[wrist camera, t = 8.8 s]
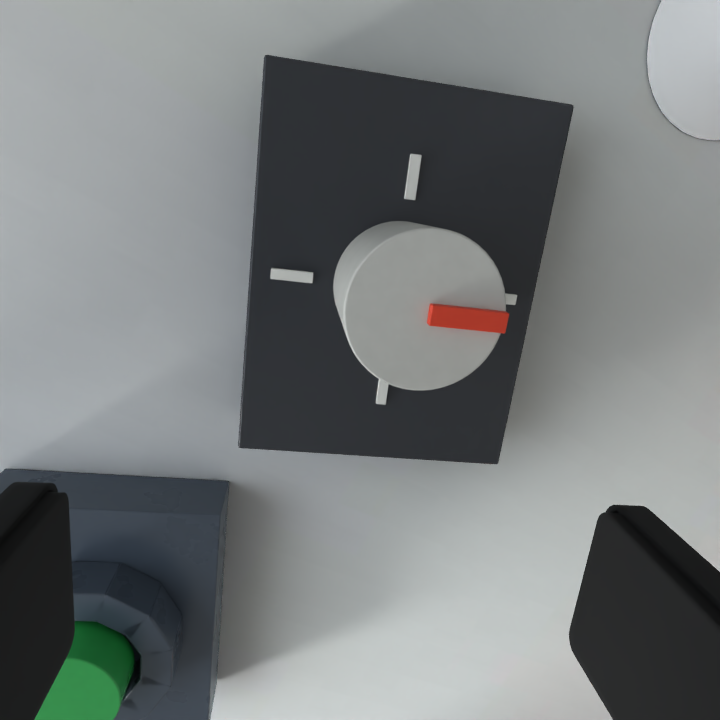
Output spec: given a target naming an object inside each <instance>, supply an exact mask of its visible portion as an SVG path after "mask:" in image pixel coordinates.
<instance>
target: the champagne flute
mask: <svg viewBox="0 0 720 720" xmlns="http://www.w3.org/2000/svg"><path fill="white" fill-rule="evenodd" d="M647 67H648V78H649V82H650V86H651V89H652V93H653V96H654V98H655V100H656V102H657V104H658V106H659V108H660V110H661V111H662V113H663V114H664V115H665V116H666V117H667V119H668V120H669V121H670V122H671V123H672V124H673V125H674V126H676V127H677V128H678V129H680V130H681V131H682V132H684V133H686V134H689V135H691V136H693V137H696V138H700V139H706V140H720V0H662V1H661V3H660V5H659V8H658V10H657V12H656V15H655V17H654V20H653V23H652V27H651V31H650V36H649V40H648V51H647Z"/></svg>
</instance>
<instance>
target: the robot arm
mask: <svg viewBox="0 0 720 720" xmlns="http://www.w3.org/2000/svg"><path fill="white" fill-rule="evenodd" d="M74 632H75V619H74V598H73V578H72V557H71V537H70V517H69V500H68V496H67V494H66V493H65V492H58V489H57V487H56V485H55V484H54V483H39V482H14V483H12V484H11V485H9V486H8V487H7V488H6V489H5V490H4V491H3V492H2V493H1V494H0V720H34V719H35V718H36V716H37V714H38V712H39V710H40V708H41V706H42V704H43V702H44V700H45V698H46V696H47V694H48V692H49V690H50V688H51V687H52V685H53V683H54V681H55V679H56V677H57V675H58V673H59V671H60V669H61V667H62V665H63V663H64V661H65V659H66V657H67V656H68V654H69V651H70V649H71V646H72V643H73V638H74ZM569 640H570V645H571V649H572V651H573V653H574V655H575V657H576V659H577V660H578V662H579V663H580V665H581V667H582V668H583V670H584V672H585V673H586V675H587V677H588V678H589V680H590V682H591V683H592V685H593V687H594V688H595V690H596V692H597V693H598V695H599V697H600V698H601V700H602V702H603V703H604V705H605V707H606V708H607V710H608V712H609V713H610V715H611V717H612V718H613V720H720V572H719V571H718V570H717V569H716V568H715V567H713V566H712V565H711V564H710V563H709V562H708V561H707V560H706V559H704V558H703V557H702V556H701V555H700V554H699V553H698V552H697V551H695V550H694V549H693V548H692V547H691V546H690V545H689V544H687V543H686V542H685V541H684V540H683V539H682V538H681V537H680V536H678V535H677V534H676V533H675V532H674V531H673V530H672V529H671V528H669V527H668V526H667V525H666V524H665V523H664V522H663V521H662V520H660V519H659V518H658V517H657V516H656V515H655V514H654V513H653V512H651V511H650V510H649V509H648V508H646V507H644V506H628V505H612V506H610V507H609V508H608V509H607V511H606V513H605V512H604V513H602V514H601V515H600V516H599V518H598V520H597V524H596V528H595V532H594V536H593V540H592V544H591V548H590V552H589V556H588V560H587V564H586V567H585V571H584V575H583V579H582V583H581V587H580V591H579V595H578V599H577V603H576V607H575V611H574V615H573V619H572V623H571V626H570V631H569Z"/></svg>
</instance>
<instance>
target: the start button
mask: <svg viewBox="0 0 720 720" xmlns="http://www.w3.org/2000/svg"><path fill="white" fill-rule="evenodd" d="M134 665H135V656H134V651H133V649H132V646H131V644H130V643H129V641H128V640H127V639H126V637H125V636H124V635H122V634H121V633H120V632H118V631H115V630H113V629H111V628H109V627H107V626H105V625H103V624H100V623H98V622H95V621H75V632H74V638H73V643H72V646H71V649H70V651H69V654H68V656H67V657H66V659H65V661H64V663H63V665H62V667H61V669H60V671H59V673H58V675H57V677H56V679H55V681H54V683H53V685H52V687H51V688H50V690H49V692H48V694H47V696H46V698H45V700H44V702H43V704H42V706H41V708H40V710H39V712H38V714H37V716H36V718H35V719H34V720H114V718H115V717H116V715H117V714H118V711H119V709H120V706H121V704H122V701H123V698H124V695H125V692H126V689H127V687H128V684H129V681H130V678H131V675H132V672H133V669H134Z"/></svg>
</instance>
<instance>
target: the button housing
mask: <svg viewBox="0 0 720 720" xmlns="http://www.w3.org/2000/svg"><path fill="white" fill-rule="evenodd" d="M14 482H39V483H54V484H55V485H56V487H57V489H58V492H65V493H66V494H67V496H68V500H69V517H70V537H71V557H72V578H73V598H74V619H75V621H95V622H98V623H100V624H103V625H105V626H107V627H109V628H111V629H113V630H115V631H118V632H120V633H121V634H122V635H124V636H125V637H126V639H127V640H128V641H129V643H130V644H131V646H132V649H133V651H134V656H135V665H134V669H133V672H132V675H131V678H130V681H129V684H128V687H127V689H126V692H125V695H124V698H123V701H122V704H121V706H120V709H119V711H118V714H117V715H116V717H115V718H114V720H210V718H211V712H212V706H213V700H214V694H215V689H216V683H217V667H218V652H219V636H220V620H221V604H222V588H223V572H224V556H225V540H226V525H227V509H228V493H229V481H216V480H198V479H180V478H162V477H144V476H126V475H108V474H90V473H72V472H54V471H36V470H18V469H5V470H3V471H2V472H1V473H0V494H1V493H2V492H3V491H4V490H5V489H6V488H7V487H8V486H9V485H11V484H12V483H14Z"/></svg>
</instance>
